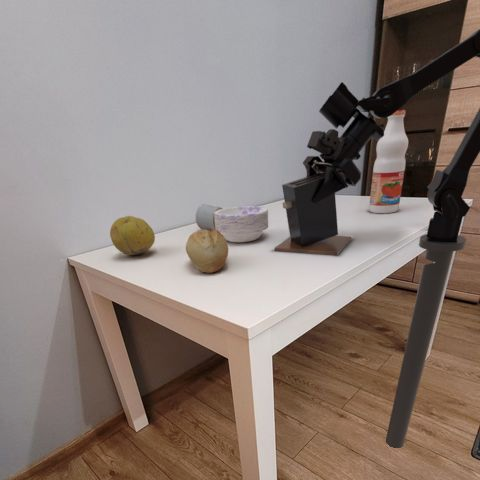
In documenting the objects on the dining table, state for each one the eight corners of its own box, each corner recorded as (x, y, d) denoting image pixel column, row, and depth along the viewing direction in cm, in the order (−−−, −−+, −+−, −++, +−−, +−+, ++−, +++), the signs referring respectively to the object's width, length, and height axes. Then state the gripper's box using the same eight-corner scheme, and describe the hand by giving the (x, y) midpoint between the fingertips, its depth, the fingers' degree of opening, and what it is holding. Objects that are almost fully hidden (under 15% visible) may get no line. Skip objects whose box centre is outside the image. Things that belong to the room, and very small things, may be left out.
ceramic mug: (215, 233, 107) (213, 207, 103) (196, 231, 111) (193, 206, 107) (236, 226, 114) (234, 201, 110) (217, 224, 118) (215, 201, 114)
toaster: (324, 229, 91) (319, 172, 83) (338, 234, 86) (333, 173, 78) (285, 242, 90) (275, 186, 82) (296, 249, 84) (287, 189, 76)
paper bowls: (269, 230, 105) (268, 203, 100) (268, 244, 92) (267, 213, 88) (220, 233, 107) (218, 206, 102) (212, 247, 94) (209, 217, 90)
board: (351, 239, 90) (351, 236, 89) (337, 255, 80) (337, 252, 79) (294, 236, 97) (294, 233, 96) (274, 250, 87) (274, 247, 86)
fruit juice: (381, 207, 121) (394, 111, 106) (404, 210, 114) (421, 108, 99) (362, 211, 117) (372, 113, 102) (384, 215, 110) (399, 109, 95)
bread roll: (220, 253, 88) (217, 221, 84) (236, 270, 76) (233, 234, 72) (184, 259, 86) (178, 227, 82) (194, 278, 74) (188, 241, 70)
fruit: (119, 264, 87) (108, 223, 82) (113, 253, 97) (103, 216, 91) (161, 255, 91) (153, 216, 86) (152, 246, 100) (144, 210, 95)
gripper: (311, 117, 82) (269, 173, 86) (354, 111, 67) (301, 179, 71) (338, 152, 88) (298, 203, 92) (383, 153, 73) (333, 214, 76)
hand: (306, 199), depth 82 cm, fingers closed on toaster, 7 cm apart
